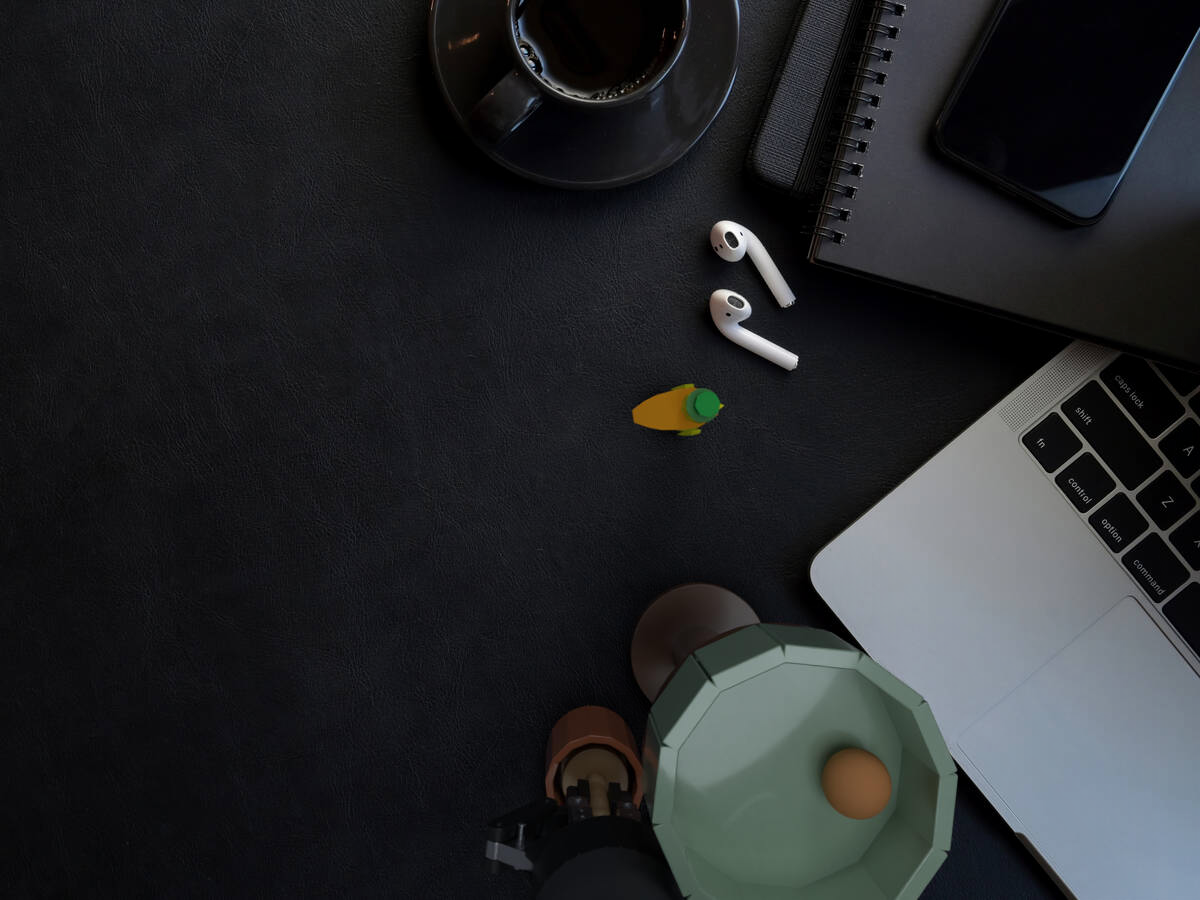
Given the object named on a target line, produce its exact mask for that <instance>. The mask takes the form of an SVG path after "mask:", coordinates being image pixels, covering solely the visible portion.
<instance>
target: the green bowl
mask: <svg viewBox="0 0 1200 900" xmlns="http://www.w3.org/2000/svg"><path fill="white" fill-rule="evenodd" d="M764 623H765V622H761V623H760V624H759V627H758V626H757V625H756V624H753V625H751V626H749V627H747V628H745V629H742V630H740V631H738V632H736V633H734V634H731V635H729V636H727V637H725V638H722V639H720V640H718V641H716V642H714V643H711V644H709V645H707V646H705V647H703V648H700V649H698V650H696V651H694V655H695V656H692V655H689V657H688V658H687V659H686V661H685V662H684V664H683V665H682V666H681V668H680V669H679V670H678V672H677V673H676V675H675V676H674V677H673V679H672V680H671V681H670V683H669V684H668V686H667V687H666V688H665V690H664V691H663V693H662V694H661V695H660V697H659V698H658V699H657V701H656V702H655V704H654V705H653V706H652V705H651V706H652V708H651V707H650V709H651V713H652V714H649V713H648V715H647V719H648V723H647V732H646V741H645V750H644V759H643V765H642V777H641V782H642V788H643V792H644V794H643V797H644V800H645V804H646V807H647V813H648V812H649V815H650V819H651V823H652V827H653V830H654V832H655V835H656V837H657V839H658V842H659V844H660V846H661V848H662V851H663V853H664V855H665V857H666V860H667V862H668V864H669V867H670V869H671V871H672V873H673V876H674V878H675V880H676V882H677V885H678V887H679V889H680V892H681V894H682V896H683V897H686V900H918V899H919V898H920V896H921V895H922V893H923V892H924V890H925V889H926V888H927V886H928V885H929V883H930V882H931V881H932V879H933V878H934V877H935V875H936V873H937V872H938V871H939V870H940V868H941V866H942V865H943V864H944V862H945V861H946V860H947V858H948V853H947V852H950V851H951V847H952V845H951V844H952V837H953V836H952V835H953V828H954V818H955V807H956V800H957V799H956V798H957V791H958V790H957V789H958V779H959V775H958V774H957V773H956V772H957V771H958V768H957V767H956V763H955V761H954V759H953V757H952V754H951V752H950V750H949V748H948V745H947V742H946V740H945V739H944V737H943V734H942V732H941V730H940V726H939V725H938V722H937V720H936V718H935V716H934V714H933V711H932V709H931V705H930V704H929V702H928V701H927V700H926V699H924V696H923V695H922V694H920V693H919V692H917V690H915V689H914V688H912V687H911V686H909V684H907V683H905V682H904V681H903V680H901V679H900V678H899V677H897V676H895V674H893V673H892V672H891V671H889V670H888V669H886V668H885V667H884V666H882V665H881V664H880V663H879V662H877V661H875V660H874V659H873V658H871V657H870V656H869V655H867V654H866V653H864V652H863V651H861V650H860V649H858V648H856V647H855V646H853V645H852V644H850V643H849V642H847V641H846V640H844V639H843V638H841V637H839V636H838V635H836V634H835V633H833V632H831V631H828V630H826V629H820V628H814V629H812V628H813V627H811V628H803V627H793V626H783V625H774V624H764ZM849 748H859V749H863V750H866V751H869V752H871V753H872V754H874V755H876V756H877V757H878V758H879V759H880V760H881V761H882V762H883V763H884V765H885V766H886V768H887V770H888V772H889V774H890V777H891V783H892V792H891V797H890V800H889V802H888V804H887V805H886V807H885V808H884V809H883V810H882V811H881V812H880V813H879V814H878V815H876V816H874V817H872V818H869V819H863V820H857V819H851V818H848V817H846V816H843V815H842V814H840V813H838V812H837V811H836V810H835V809H834V808H833V807H832V806H831V805H830V803H829V802H828V800H827V799H826V797H825V794H824V791H823V787H822V775H823V770H824V767H825V765H826V763H827V762H828V760H829V759H830V758H831V757H832V756H833V755H834V754H836V753H837V752H839V751H841V750H844V749H849ZM946 851H947V852H946Z"/></svg>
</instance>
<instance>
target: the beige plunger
mask: <svg viewBox="0 0 1200 900" xmlns="http://www.w3.org/2000/svg"><path fill="white" fill-rule="evenodd" d="M560 764H561V776H562V788H563V792H564V795H565V797H566V788H567V787H568V786H577V782H578V779H585V780H589V786H590V797H591V800H590V806H592V812H593V817H595V816H602V815H611V814H610V807H609V800H608V784H609V782H616V783H620V786H621V790H622V791H627V789H628V773H627V762H626V757H625V754H624V753H622V752H620V751H619V750H617V749H616V748H614V747H612V746H611V745H609V744H599V743H588V744H585V745H583V746H580V747H577V748H575V749H572V750H571V751H570V752H569V753H568V754H567V755H566V756H565V757H564V758H563V759H562V760H561V761H560Z"/></svg>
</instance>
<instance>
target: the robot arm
mask: <svg viewBox="0 0 1200 900" xmlns="http://www.w3.org/2000/svg"><path fill="white" fill-rule="evenodd" d="M590 800H591V797H590V786H589V780H585V779H578V782H577V786H568V787H567V788H566V797H565V804H563V805H558V801H557V800H555V799H553V798H550V797H547V796H543V797H538V798H536V799H535V800H532V801H530V802H528V803H526V804H523V805H521V806H520V807H518V808H515V809H513V810H511V811H509V812H507V813H505V814H502V815H500V816H498V817H496V818H493V819H492V820H490V821H488V823H487V830H486V840H485V849H484V858H483V867H482V870H483V871H484V872H485V873H487V874H490V875H501V874H504V873H506V872H508V871H509V870H512V869H514V870H516V871H517V870H522V878H523V881H524V883H525V884H526V885H527V886H528V887H529V888H530V889H531V891H530V900H686V897H683V896H682V894H681V892H680V889H679V887H678V885H677V882H676V880H675V878H674V876H673V873H672V871H671V869H670V867H669V864H668V862H667V860H666V857H665V855H664V853H663V851H662V848H661V846H660V844H659V842H658V839H657V837H656V835H655V832H654V830H653V827H652V823H651V819H650V815H649V812H648V811H647V813H645V812H644V813H643V812H641V810H639V809H638V807H637V805H636V804H635V803H633V801H632V796H631V794H630V793H629V792H628V791H622V790H621V786H620V783H616V782H609V784H608V800H609V807H610V814H611V815H602V816H595V817H593V812H592V806H590Z"/></svg>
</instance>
